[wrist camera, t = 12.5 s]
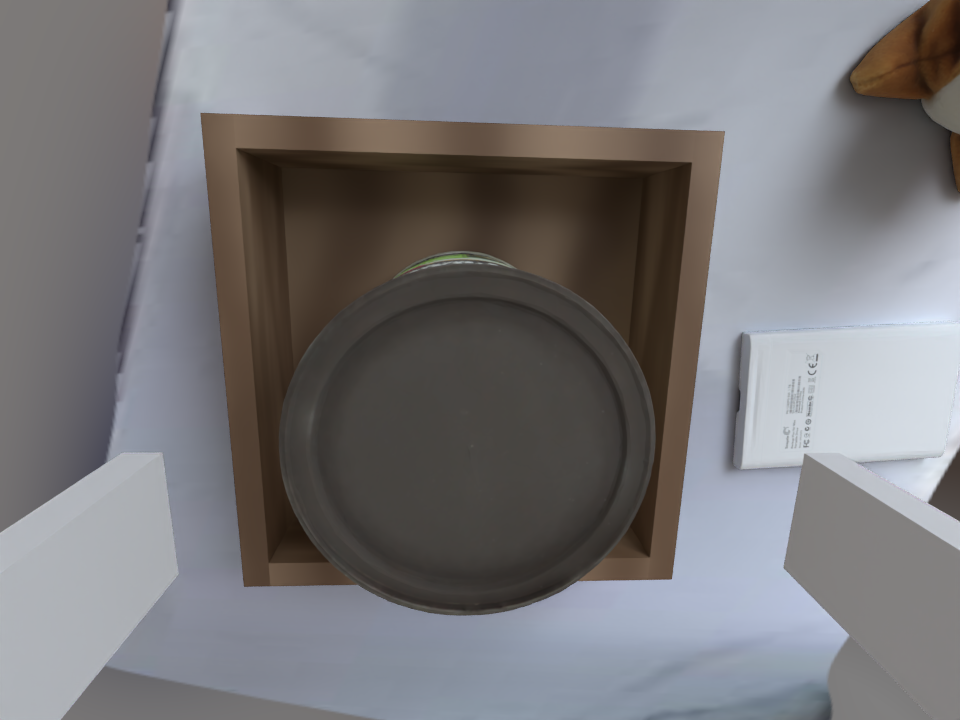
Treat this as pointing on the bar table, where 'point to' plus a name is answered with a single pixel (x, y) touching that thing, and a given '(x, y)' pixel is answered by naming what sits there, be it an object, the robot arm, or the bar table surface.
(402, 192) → the walnut box
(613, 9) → the bar table surface
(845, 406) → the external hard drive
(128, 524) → the robot arm
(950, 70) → the stuffed squirrel
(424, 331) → the coffee can
